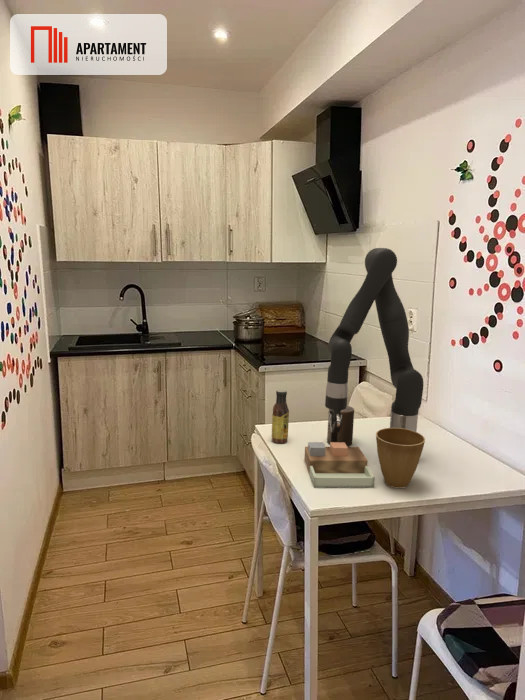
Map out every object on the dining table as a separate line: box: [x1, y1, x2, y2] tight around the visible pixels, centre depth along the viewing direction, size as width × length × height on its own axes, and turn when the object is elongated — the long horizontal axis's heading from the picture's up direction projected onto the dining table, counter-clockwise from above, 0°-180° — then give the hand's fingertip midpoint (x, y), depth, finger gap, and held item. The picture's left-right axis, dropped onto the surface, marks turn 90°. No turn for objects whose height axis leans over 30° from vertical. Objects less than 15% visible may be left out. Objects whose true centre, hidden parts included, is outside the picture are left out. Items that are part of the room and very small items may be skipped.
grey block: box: [307, 441, 326, 456], centre depth 173 cm, size 5×5×3 cm
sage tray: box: [308, 465, 376, 489], centre depth 164 cm, size 19×9×3 cm, turn 93°
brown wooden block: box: [303, 446, 368, 474], centre depth 174 cm, size 19×12×5 cm, turn 93°
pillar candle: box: [326, 405, 355, 447], centre depth 196 cm, size 10×10×15 cm
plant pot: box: [375, 427, 426, 489], centre depth 162 cm, size 15×15×16 cm
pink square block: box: [329, 442, 349, 456], centre depth 173 cm, size 5×5×3 cm
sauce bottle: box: [271, 389, 290, 444], centre depth 195 cm, size 7×6×20 cm
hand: (333, 441), depth 181 cm, fingers closed
